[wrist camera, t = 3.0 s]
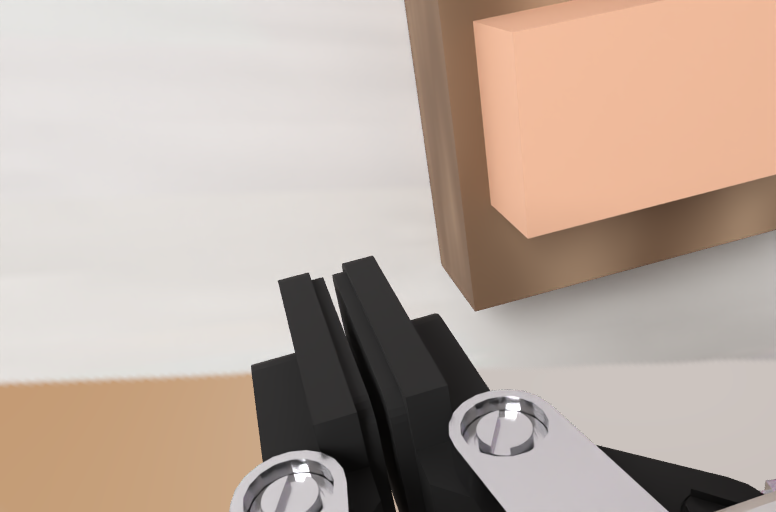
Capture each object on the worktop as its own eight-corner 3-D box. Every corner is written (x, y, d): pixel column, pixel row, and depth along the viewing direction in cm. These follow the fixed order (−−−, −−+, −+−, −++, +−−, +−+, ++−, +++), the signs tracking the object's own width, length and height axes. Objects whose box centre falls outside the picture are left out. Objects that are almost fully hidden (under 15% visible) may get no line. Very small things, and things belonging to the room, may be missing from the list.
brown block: (794, -185, 24) (896, -208, 20) (759, 182, 30) (832, 213, 26) (388, -114, 22) (422, -126, 18) (441, 265, 28) (475, 311, 24)
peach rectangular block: (739, -35, 21) (814, -32, 19) (726, 145, 24) (790, 170, 21) (472, 21, 20) (512, 32, 17) (490, 204, 23) (527, 238, 20)
